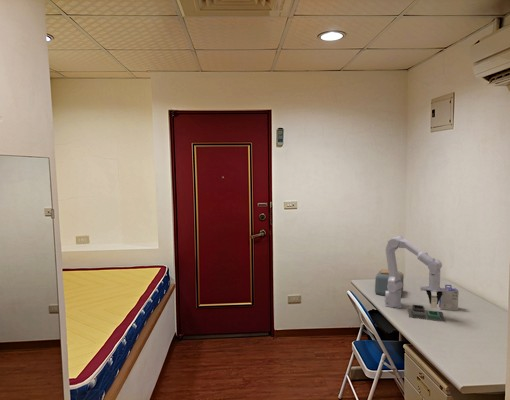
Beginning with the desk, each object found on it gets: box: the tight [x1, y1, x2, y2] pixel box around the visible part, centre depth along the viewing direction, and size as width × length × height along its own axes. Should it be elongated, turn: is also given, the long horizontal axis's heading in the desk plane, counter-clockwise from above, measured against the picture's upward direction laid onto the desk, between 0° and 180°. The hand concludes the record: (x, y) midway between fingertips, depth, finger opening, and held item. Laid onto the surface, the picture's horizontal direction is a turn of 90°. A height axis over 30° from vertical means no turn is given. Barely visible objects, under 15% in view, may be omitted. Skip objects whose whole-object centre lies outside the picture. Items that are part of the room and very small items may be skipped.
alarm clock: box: [374, 269, 405, 296], centre depth 247 cm, size 16×16×16 cm
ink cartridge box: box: [438, 284, 459, 311], centre depth 220 cm, size 10×6×14 cm, turn 79°
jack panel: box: [407, 304, 446, 323], centre depth 211 cm, size 19×13×4 cm
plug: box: [429, 294, 438, 309], centre depth 209 cm, size 3×4×6 cm
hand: (433, 303), depth 209 cm, fingers closed on plug, 3 cm apart
